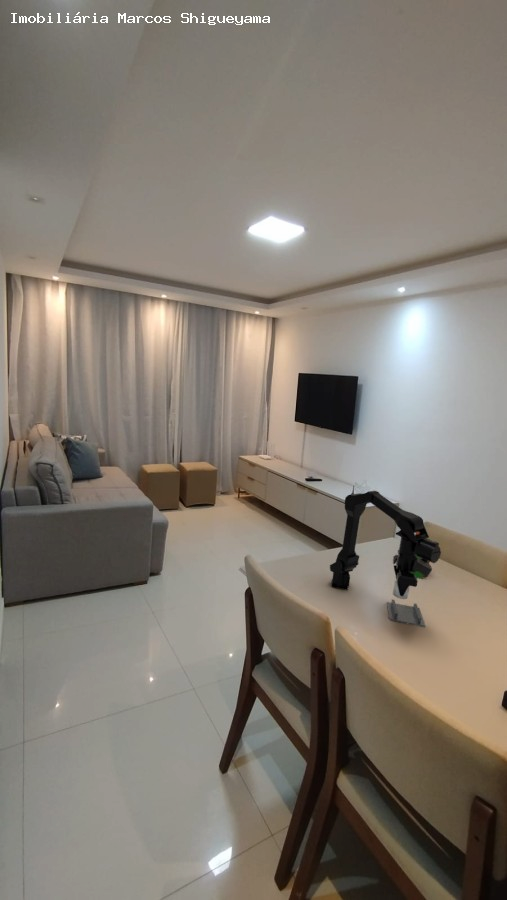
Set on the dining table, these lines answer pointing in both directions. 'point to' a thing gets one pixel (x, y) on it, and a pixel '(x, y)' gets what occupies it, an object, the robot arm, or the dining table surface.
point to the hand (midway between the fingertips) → (400, 592)
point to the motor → (417, 571)
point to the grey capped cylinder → (397, 594)
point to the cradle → (405, 614)
